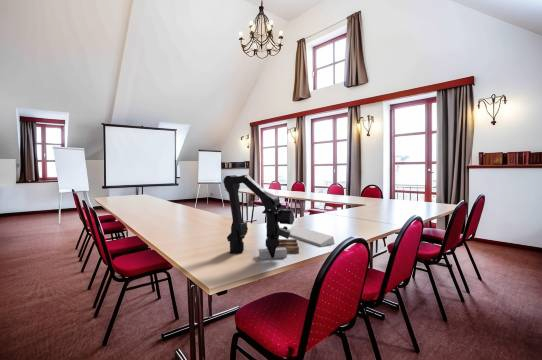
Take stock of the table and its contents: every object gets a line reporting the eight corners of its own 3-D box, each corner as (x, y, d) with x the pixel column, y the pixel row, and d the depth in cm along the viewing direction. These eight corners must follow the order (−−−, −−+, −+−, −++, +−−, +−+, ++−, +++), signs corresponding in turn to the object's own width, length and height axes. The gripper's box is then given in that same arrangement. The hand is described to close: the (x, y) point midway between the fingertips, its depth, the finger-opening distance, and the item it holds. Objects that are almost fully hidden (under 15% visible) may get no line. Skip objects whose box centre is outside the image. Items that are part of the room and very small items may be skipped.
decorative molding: (322, 252, 147) (334, 244, 152) (320, 244, 146) (333, 236, 151) (285, 238, 176) (297, 232, 181) (283, 232, 175) (295, 225, 180)
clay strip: (260, 259, 128) (260, 251, 128) (259, 257, 132) (258, 249, 131) (286, 257, 131) (286, 249, 130) (285, 255, 134) (285, 247, 134)
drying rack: (267, 253, 137) (267, 247, 137) (268, 244, 153) (268, 239, 153) (298, 252, 137) (298, 247, 137) (296, 244, 153) (296, 239, 152)
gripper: (290, 227, 121) (290, 261, 122) (288, 219, 139) (288, 249, 140) (265, 227, 121) (265, 261, 122) (266, 219, 140) (267, 249, 140)
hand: (272, 255), depth 131 cm, fingers open, 9 cm apart
